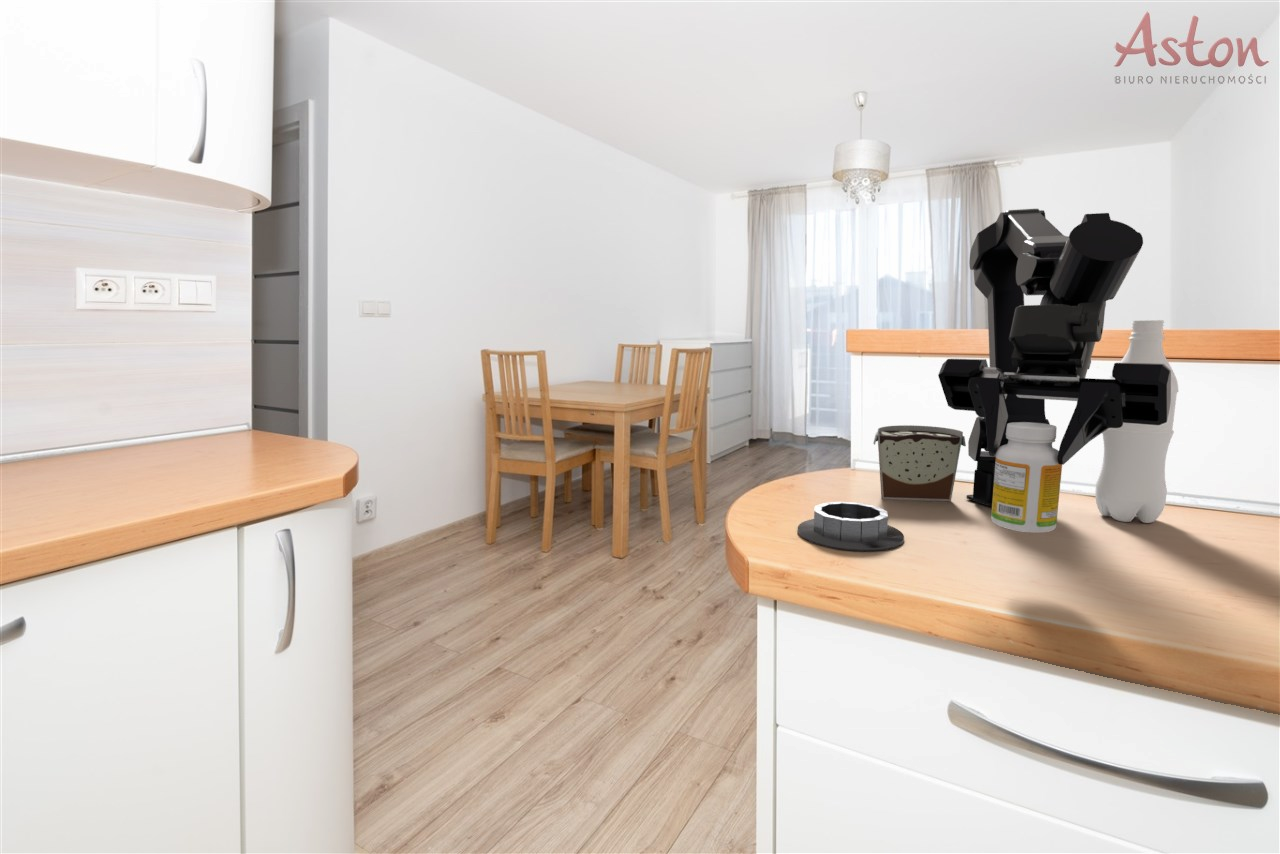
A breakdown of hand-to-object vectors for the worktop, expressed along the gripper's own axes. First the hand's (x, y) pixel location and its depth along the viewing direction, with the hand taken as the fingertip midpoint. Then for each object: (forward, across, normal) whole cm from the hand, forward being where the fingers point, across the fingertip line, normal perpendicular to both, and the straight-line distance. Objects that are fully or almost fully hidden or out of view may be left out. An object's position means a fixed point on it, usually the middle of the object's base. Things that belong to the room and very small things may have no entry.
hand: (1024, 457), depth 59 cm
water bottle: (-15, +4, +33) cm, 37 cm away
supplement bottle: (+4, 0, +6) cm, 7 cm away
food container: (-10, -21, +28) cm, 37 cm away
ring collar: (+6, -18, +11) cm, 22 cm away
